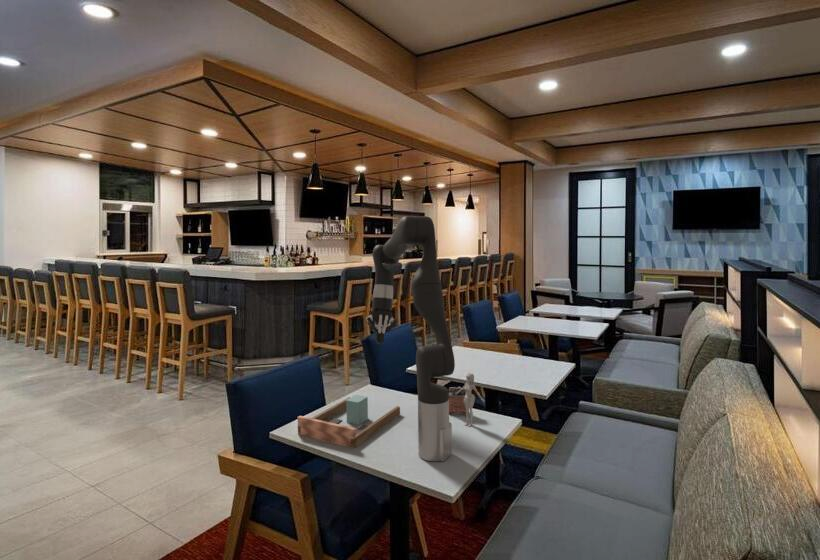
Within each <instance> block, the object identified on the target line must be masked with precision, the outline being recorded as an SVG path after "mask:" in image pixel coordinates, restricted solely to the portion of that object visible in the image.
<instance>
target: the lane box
mask: <svg viewBox="0 0 820 560" xmlns="http://www.w3.org/2000/svg"><path fill="white" fill-rule="evenodd" d="M351 397H352V396H351ZM351 397H349V396H348V397H347V398H345V399H344V400H342V401H340V402H338V403H336V404H334V405H332V406H331V407H329V408H327V409H325V410H323V411H322V412H320V413H317V415H314V416H312V417H309V416H308V417H307V416H303V415H299V416H297V435H298V436H303V437H307V438H310V439H315V440H318V441H324V442H328V443H330V444H331V443H332V444H335V445H339V446H344V447H348V448H351V449H355V448H356V447H358V446H359V445H361V444H362V443H364V442H365V441H366V440H367V439H369V438H370V437H371V436H373V435H374V434H376V433H377V432H379V431H380V430H382V428H384V427H385V426H387V425H388V424H390V423H391V422H392V421H393V420H394V419H396V418H397V417H398V416H400V415H401V407H400V406H398V405H397V406H395V407H394V408H392V409H391V410H389V411H388V412H385V414H383V415H381V416H380V417H379V418H378V419H376V420H375V421H374V422H372V423H370V424H369V425H368V427H366V428H365V429H363V430H362V431H360V432H359V433H357V434H356V429H357V428H356V427H352V426H347V425H344V424H339V423H338V424H335V423H330V422H326V421H327V420H329V419H330V418H334V417H335V416H336V415H338V414H340V413H341V412H343V411H344V410H346V400H348V399H349V398H351Z"/></svg>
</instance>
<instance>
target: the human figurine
mask: <svg viewBox="0 0 820 560" xmlns="http://www.w3.org/2000/svg"><path fill="white" fill-rule="evenodd" d="M465 377H466V379H465V380H466V383H464V385H463V386H462V387H461V389H460V390H459V391H458V392H457V393H456V392H455V393H456V394H458V393H459V392H460V391H461V390H463V389H465V390H466V395H465V397H464V404H465V407H466V417H465V418H466V422H465V423H464V426H467V427H468V428H469V427H471V426H473V416H474V413H473V407H474V404H475V399H476V396H475V394H472V390H474V391H475V393H476V395H477V396H478V397H479V398H480V401H482V402H483V403H485V401H486V400H485V399H484V397H482V396H481V394H480V392H479V391H478V390H477V388H476V385H475V374H474V373H471V372H468V373H467V374H466V376H465ZM456 394H455V395H456ZM469 418H470V422H469Z"/></svg>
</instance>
